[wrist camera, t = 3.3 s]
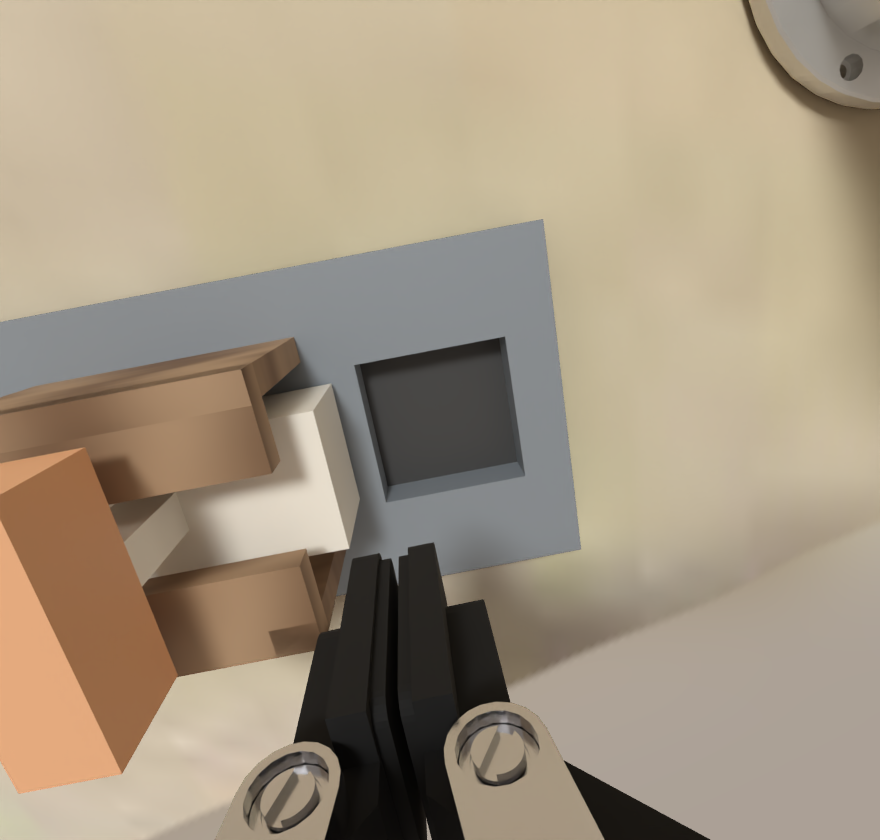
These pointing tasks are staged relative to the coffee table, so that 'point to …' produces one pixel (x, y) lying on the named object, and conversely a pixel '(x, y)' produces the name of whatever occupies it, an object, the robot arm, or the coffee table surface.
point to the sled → (136, 583)
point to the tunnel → (182, 468)
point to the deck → (381, 381)
